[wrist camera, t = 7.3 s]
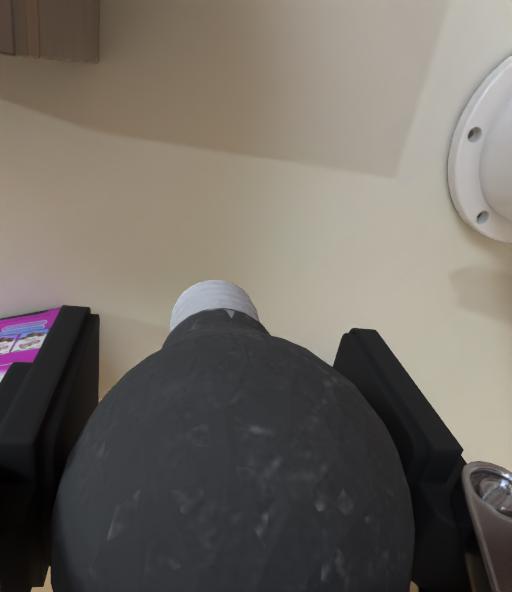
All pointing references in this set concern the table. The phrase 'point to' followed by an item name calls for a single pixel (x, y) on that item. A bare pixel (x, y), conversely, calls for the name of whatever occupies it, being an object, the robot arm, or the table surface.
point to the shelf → (50, 29)
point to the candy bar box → (23, 337)
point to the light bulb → (231, 470)
